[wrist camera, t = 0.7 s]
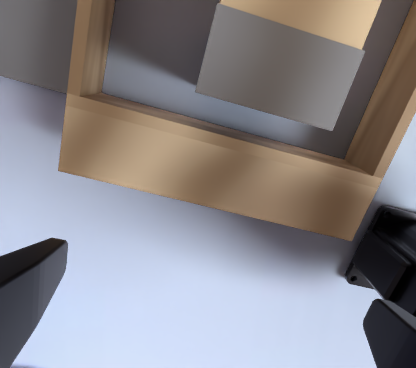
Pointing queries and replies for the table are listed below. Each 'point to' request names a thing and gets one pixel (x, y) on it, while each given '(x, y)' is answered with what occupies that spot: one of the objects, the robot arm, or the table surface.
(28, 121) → the table surface
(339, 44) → the box
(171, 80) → the table surface
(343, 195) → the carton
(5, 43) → the mat
